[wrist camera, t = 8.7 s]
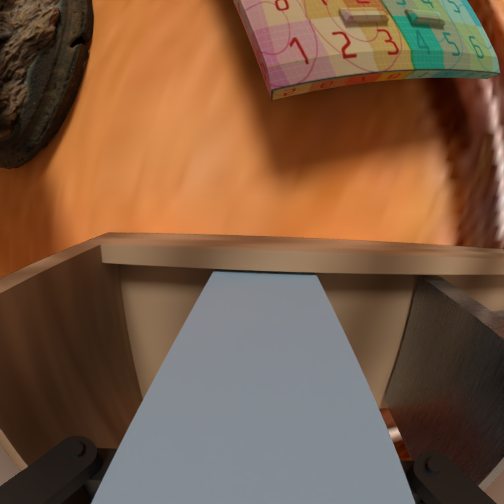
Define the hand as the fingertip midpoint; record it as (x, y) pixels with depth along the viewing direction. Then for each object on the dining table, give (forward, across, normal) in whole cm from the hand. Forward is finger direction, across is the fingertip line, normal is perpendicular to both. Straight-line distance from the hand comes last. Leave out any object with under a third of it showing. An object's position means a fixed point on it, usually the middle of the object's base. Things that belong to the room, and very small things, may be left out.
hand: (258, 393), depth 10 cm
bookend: (+3, -13, 0) cm, 13 cm away
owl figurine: (+5, +16, -17) cm, 24 cm away
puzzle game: (+6, -2, -22) cm, 23 cm away
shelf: (+5, -5, 0) cm, 7 cm away
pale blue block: (+3, 0, 0) cm, 3 cm away
